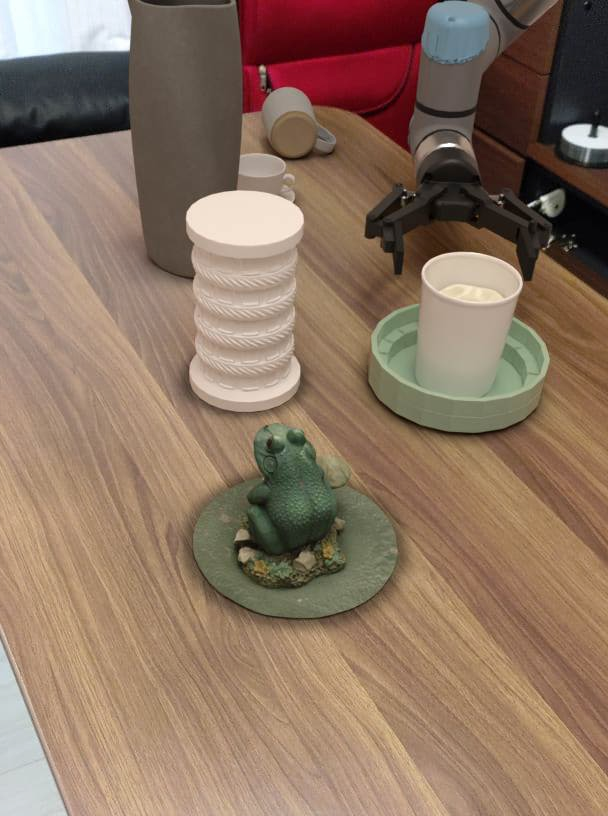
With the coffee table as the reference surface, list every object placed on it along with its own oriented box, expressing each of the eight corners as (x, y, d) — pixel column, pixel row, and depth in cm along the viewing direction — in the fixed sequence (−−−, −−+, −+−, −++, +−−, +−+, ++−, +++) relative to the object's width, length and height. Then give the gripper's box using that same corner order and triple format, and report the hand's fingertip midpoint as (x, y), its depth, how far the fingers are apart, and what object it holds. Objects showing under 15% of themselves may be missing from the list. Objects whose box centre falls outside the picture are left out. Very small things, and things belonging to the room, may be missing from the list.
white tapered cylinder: (394, 391, 101) (408, 287, 92) (423, 344, 107) (438, 243, 99) (486, 416, 98) (509, 312, 90) (510, 366, 105) (533, 265, 96)
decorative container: (193, 415, 97) (186, 249, 85) (185, 350, 105) (177, 190, 93) (308, 408, 99) (317, 245, 86) (291, 345, 107) (297, 186, 94)
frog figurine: (334, 454, 94) (342, 352, 86) (437, 577, 83) (458, 473, 75) (161, 508, 87) (152, 403, 79) (248, 649, 76) (248, 544, 68)
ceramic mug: (269, 162, 140) (271, 107, 135) (260, 139, 146) (261, 85, 141) (340, 160, 142) (345, 107, 137) (329, 138, 148) (333, 85, 142)
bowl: (526, 340, 110) (535, 305, 107) (552, 441, 97) (562, 405, 94) (365, 332, 109) (369, 296, 106) (369, 432, 96) (374, 395, 93)
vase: (244, 287, 115) (243, 10, 94) (139, 287, 114) (115, 7, 93) (241, 237, 124) (241, -26, 103) (144, 237, 123) (124, -30, 102)
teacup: (212, 209, 129) (211, 175, 126) (232, 178, 136) (232, 144, 133) (285, 220, 128) (286, 185, 125) (302, 188, 135) (303, 154, 132)
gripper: (544, 212, 119) (576, 303, 103) (340, 202, 118) (342, 293, 103) (558, 151, 113) (594, 238, 98) (344, 140, 113) (347, 226, 98)
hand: (465, 266), depth 101 cm, fingers open, 13 cm apart
